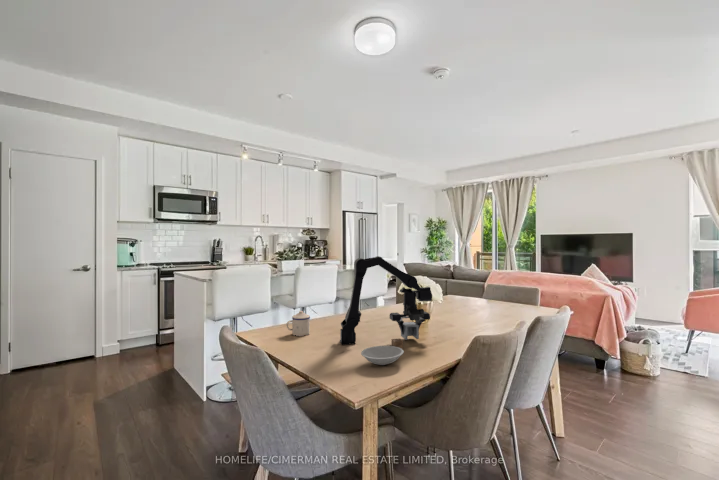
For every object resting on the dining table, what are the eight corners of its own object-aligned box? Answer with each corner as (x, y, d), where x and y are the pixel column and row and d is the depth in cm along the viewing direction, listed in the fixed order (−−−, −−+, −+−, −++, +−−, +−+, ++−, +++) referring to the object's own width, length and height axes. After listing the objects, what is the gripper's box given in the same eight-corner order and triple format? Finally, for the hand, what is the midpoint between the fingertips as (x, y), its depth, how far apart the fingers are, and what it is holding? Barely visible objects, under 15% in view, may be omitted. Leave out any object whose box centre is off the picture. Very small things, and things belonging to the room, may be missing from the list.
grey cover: (405, 339, 162) (405, 325, 162) (400, 335, 169) (400, 322, 169) (418, 338, 164) (418, 325, 164) (413, 335, 170) (413, 321, 170)
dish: (375, 375, 124) (375, 361, 124) (353, 363, 136) (353, 350, 136) (412, 365, 133) (412, 352, 133) (388, 355, 145) (388, 343, 145)
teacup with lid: (307, 330, 182) (307, 308, 182) (312, 335, 174) (312, 312, 174) (284, 333, 178) (284, 310, 178) (288, 338, 169) (288, 314, 169)
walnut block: (394, 350, 151) (394, 341, 151) (391, 347, 155) (391, 339, 155) (402, 350, 152) (402, 341, 152) (399, 347, 156) (399, 338, 156)
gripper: (396, 305, 156) (396, 340, 156) (435, 304, 160) (434, 337, 160) (389, 301, 167) (389, 333, 167) (425, 299, 171) (425, 331, 171)
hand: (409, 334), depth 166 cm, fingers open, 7 cm apart
